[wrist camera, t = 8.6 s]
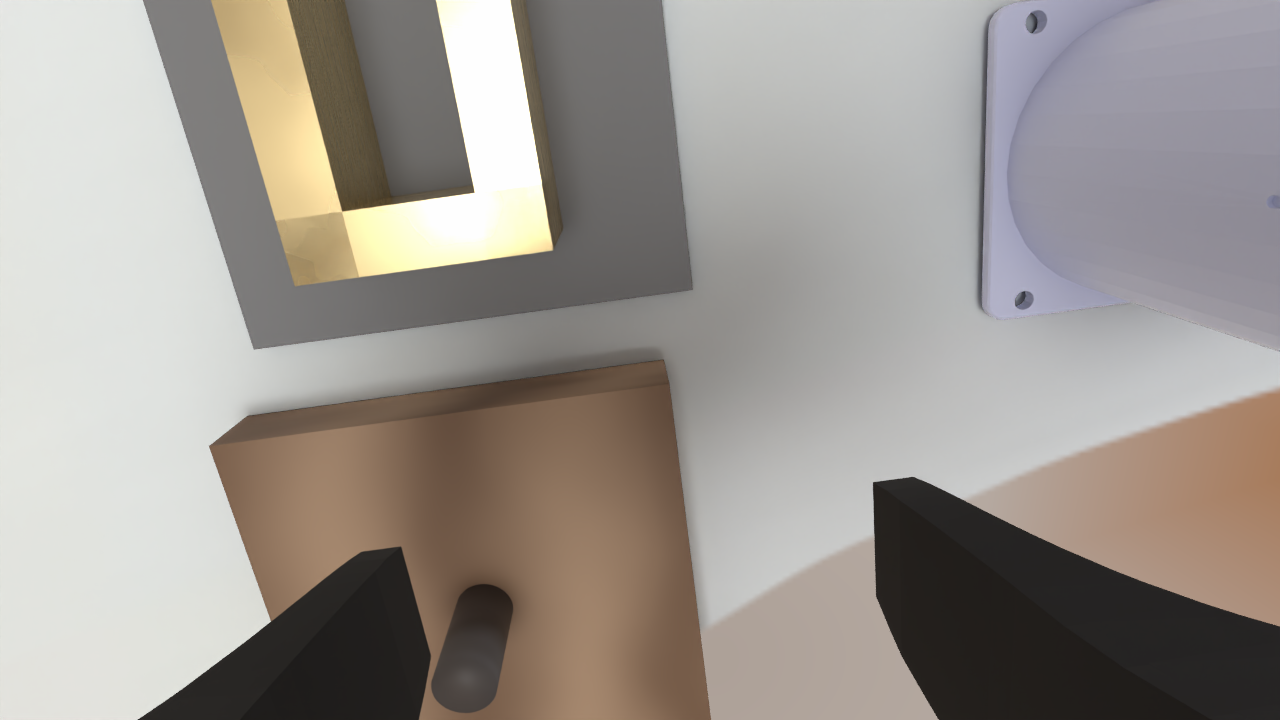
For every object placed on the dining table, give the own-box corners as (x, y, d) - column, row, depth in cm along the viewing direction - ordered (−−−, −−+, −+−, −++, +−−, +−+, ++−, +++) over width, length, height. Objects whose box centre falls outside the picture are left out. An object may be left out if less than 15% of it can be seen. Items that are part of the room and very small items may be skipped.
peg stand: (663, 359, 20) (680, 431, 15) (705, 693, 24) (729, 833, 19) (247, 416, 20) (135, 504, 15) (354, 740, 24) (290, 892, 19)
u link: (563, 228, 18) (553, 250, 15) (351, 257, 18) (294, 286, 15) (504, -126, 16) (477, -193, 13) (259, -91, 16) (167, -150, 13)
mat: (634, -238, 16) (634, -247, 15) (691, 286, 19) (692, 289, 19) (101, -165, 16) (88, -172, 15) (260, 345, 19) (254, 349, 19)
